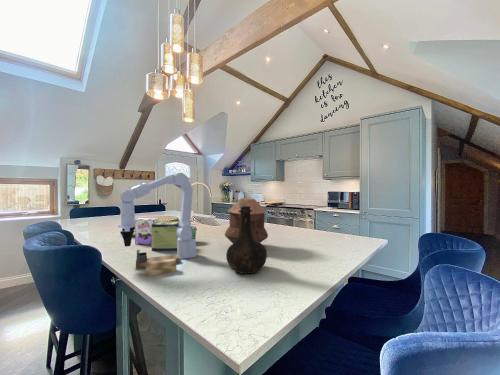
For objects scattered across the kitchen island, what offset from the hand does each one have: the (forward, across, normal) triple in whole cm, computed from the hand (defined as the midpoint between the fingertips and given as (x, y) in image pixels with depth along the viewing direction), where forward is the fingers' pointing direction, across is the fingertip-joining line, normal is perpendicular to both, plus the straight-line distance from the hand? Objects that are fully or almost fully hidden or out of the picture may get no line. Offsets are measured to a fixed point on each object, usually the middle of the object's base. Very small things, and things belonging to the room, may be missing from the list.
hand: (128, 244), depth 110 cm
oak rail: (+10, +17, +13) cm, 24 cm away
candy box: (+10, -44, +9) cm, 46 cm away
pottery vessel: (+10, -3, +62) cm, 63 cm away
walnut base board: (+10, +4, +13) cm, 17 cm away
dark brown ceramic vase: (+10, +30, +47) cm, 57 cm away
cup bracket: (+7, +4, +6) cm, 10 cm away
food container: (+10, -32, +36) cm, 50 cm away
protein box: (+10, -24, +20) cm, 33 cm away
